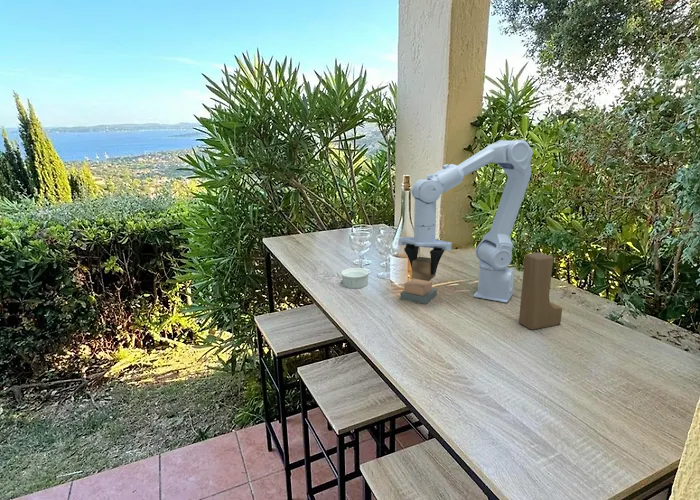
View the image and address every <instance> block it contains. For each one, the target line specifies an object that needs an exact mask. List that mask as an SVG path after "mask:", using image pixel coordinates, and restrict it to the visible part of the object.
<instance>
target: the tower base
mask: <svg viewBox="0 0 700 500" xmlns="http://www.w3.org/2000/svg"><path fill="white" fill-rule="evenodd" d="M437 292H438V288H435V287H432V290H431V291H429V292H428V293H426V294H425V295H424V296H421V295H417V294H412V293H407V292H404V289H403V290H402V291H400V298H399V299H400V300H404V301H409V302H415V303H419V304H424V305H427V304H428V303H429V302H431V300H432V299H434V297H436V296H437V294H438V293H437Z"/></svg>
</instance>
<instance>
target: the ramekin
mask: <svg viewBox="0 0 700 500" xmlns="http://www.w3.org/2000/svg"><path fill="white" fill-rule="evenodd" d="M369 274H370V273H369V270H368V269H365V268H363V267H351V268H350V267H349V268H346V269H343V270H342V271H341V279H342V285H343V286H344V287H345V288H348V289H355V290H356V289H361V288H365V287H367V285H368V281H369Z"/></svg>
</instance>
